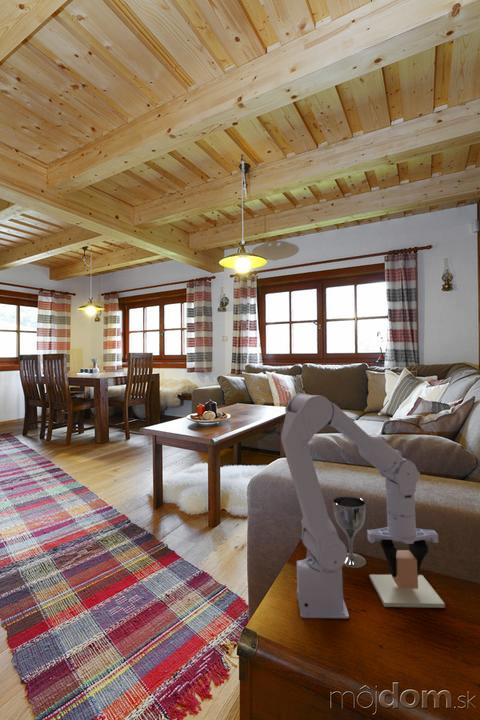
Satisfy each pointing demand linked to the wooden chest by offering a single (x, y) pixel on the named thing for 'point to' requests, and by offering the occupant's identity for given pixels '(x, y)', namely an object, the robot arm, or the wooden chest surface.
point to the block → (406, 570)
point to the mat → (406, 593)
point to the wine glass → (350, 523)
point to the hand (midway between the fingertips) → (403, 574)
